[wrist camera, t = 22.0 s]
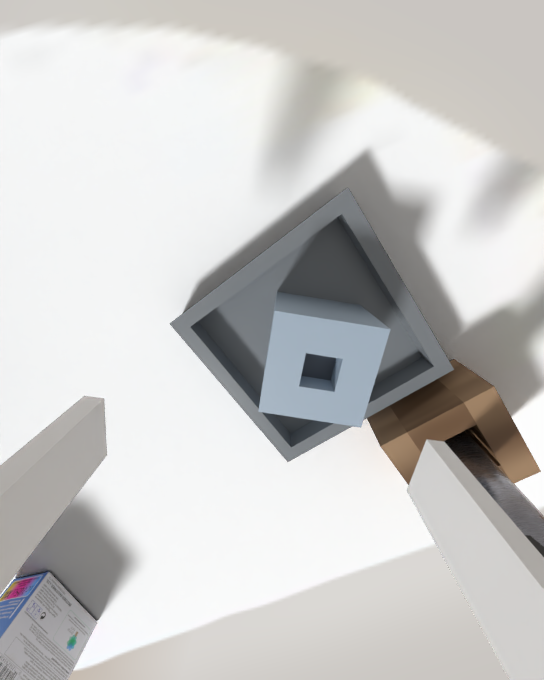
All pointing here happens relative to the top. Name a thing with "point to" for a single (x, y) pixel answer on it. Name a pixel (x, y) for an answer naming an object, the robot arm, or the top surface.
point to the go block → (453, 423)
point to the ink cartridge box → (41, 629)
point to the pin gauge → (498, 486)
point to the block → (321, 360)
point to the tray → (318, 282)
